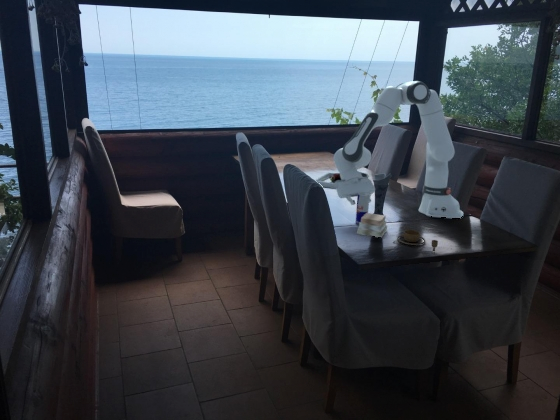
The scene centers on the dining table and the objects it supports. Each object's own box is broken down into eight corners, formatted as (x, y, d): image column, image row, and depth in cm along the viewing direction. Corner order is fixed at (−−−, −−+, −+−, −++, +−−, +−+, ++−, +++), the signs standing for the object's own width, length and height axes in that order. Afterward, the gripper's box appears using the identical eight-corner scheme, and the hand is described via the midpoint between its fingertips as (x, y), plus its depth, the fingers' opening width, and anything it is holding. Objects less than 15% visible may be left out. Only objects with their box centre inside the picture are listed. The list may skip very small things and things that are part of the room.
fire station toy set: (350, 181, 320) (352, 165, 317) (355, 189, 301) (357, 171, 298) (328, 181, 320) (329, 164, 317) (332, 188, 301) (333, 171, 298)
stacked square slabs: (386, 230, 228) (388, 215, 225) (381, 237, 218) (382, 222, 216) (363, 226, 232) (364, 211, 230) (357, 233, 222) (358, 218, 220)
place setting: (428, 238, 220) (430, 226, 218) (439, 255, 201) (440, 242, 199) (389, 237, 221) (390, 224, 220) (395, 253, 202) (397, 240, 201)
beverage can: (359, 220, 241) (361, 191, 236) (369, 223, 237) (371, 193, 233) (353, 223, 237) (355, 193, 232) (363, 226, 233) (365, 195, 229)
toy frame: (368, 181, 319) (368, 177, 319) (355, 191, 296) (356, 186, 295) (328, 176, 331) (328, 172, 330) (313, 185, 307) (313, 180, 306)
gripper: (336, 177, 233) (346, 202, 227) (370, 173, 242) (381, 197, 237) (330, 184, 238) (340, 208, 233) (364, 180, 247) (375, 204, 242)
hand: (361, 203), depth 235 cm, fingers open, 8 cm apart
